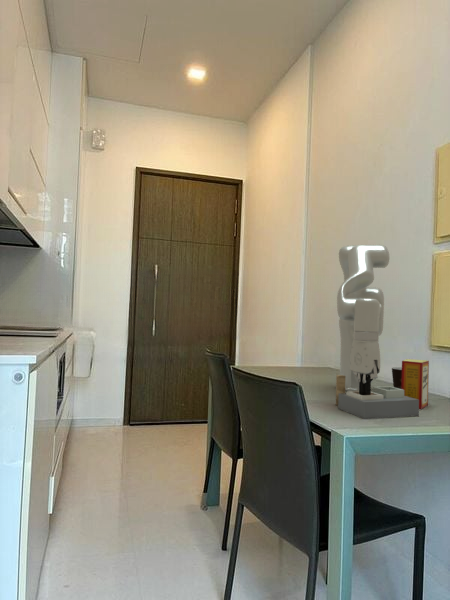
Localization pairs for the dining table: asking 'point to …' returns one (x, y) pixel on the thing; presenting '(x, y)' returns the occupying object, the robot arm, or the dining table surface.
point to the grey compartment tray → (379, 403)
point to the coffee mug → (397, 377)
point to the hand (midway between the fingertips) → (364, 395)
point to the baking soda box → (416, 380)
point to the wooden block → (340, 386)
